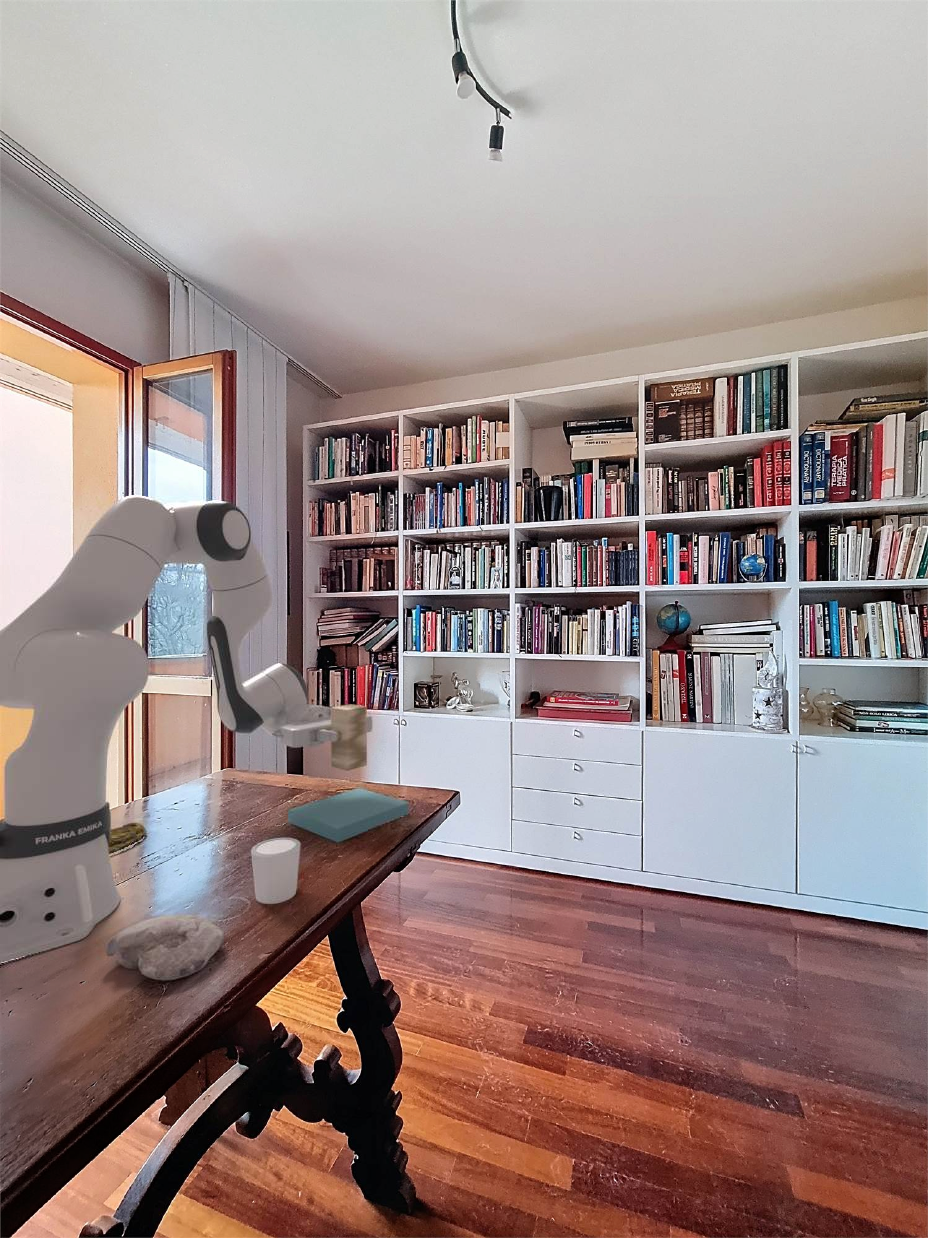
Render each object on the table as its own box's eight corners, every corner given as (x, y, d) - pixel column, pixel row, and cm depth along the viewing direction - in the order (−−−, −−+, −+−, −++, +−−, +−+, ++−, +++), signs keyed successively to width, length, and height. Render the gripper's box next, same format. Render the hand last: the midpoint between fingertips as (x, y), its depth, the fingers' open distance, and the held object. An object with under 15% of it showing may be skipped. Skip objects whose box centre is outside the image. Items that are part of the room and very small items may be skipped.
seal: (109, 836, 104) (60, 870, 89) (106, 812, 104) (57, 842, 89) (159, 828, 105) (120, 861, 90) (157, 804, 105) (117, 833, 90)
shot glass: (291, 906, 75) (291, 856, 75) (242, 906, 75) (242, 856, 75) (307, 882, 81) (306, 836, 81) (262, 882, 82) (262, 836, 82)
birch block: (347, 770, 105) (346, 710, 105) (331, 766, 108) (331, 707, 108) (366, 765, 109) (366, 706, 109) (351, 761, 112) (350, 704, 112)
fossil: (239, 909, 67) (180, 963, 57) (238, 941, 67) (180, 1001, 57) (156, 894, 69) (87, 943, 59) (156, 925, 69) (87, 980, 60)
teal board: (337, 842, 96) (337, 828, 96) (288, 822, 106) (288, 809, 106) (409, 814, 110) (408, 802, 110) (359, 799, 120) (359, 788, 120)
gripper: (267, 718, 109) (307, 726, 100) (348, 705, 124) (388, 711, 116) (268, 749, 109) (307, 760, 100) (348, 732, 124) (388, 740, 116)
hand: (351, 734), depth 108 cm, fingers closed on birch block, 5 cm apart
